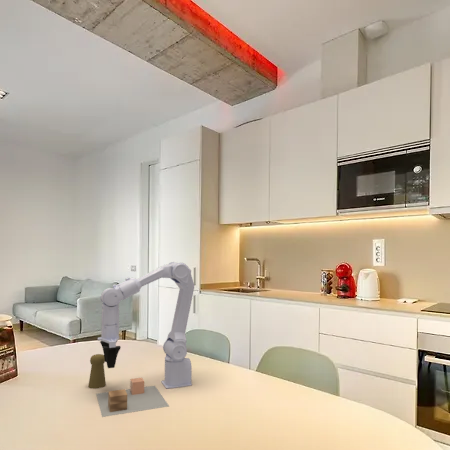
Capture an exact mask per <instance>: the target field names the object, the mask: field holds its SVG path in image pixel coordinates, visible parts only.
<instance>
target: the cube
mask: <svg viewBox="0 0 450 450" xmlns="http://www.w3.org/2000/svg"><path fill="white" fill-rule="evenodd" d="M129 382H130V383H129V386H130V387H129V389H130V392H131V393H132V395H135V394H142V393H144V387H145V379H143V377H136V378H130V381H129Z"/></svg>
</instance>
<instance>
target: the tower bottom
mask: <svg viewBox="0 0 450 450" xmlns="http://www.w3.org/2000/svg"><path fill="white" fill-rule="evenodd" d="M108 407H109V411H110V412H115V411H121V410H127V402H124V403H118V404H111V405H110V402H109V399H108Z"/></svg>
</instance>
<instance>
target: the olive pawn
mask: <svg viewBox="0 0 450 450" xmlns="http://www.w3.org/2000/svg"><path fill="white" fill-rule="evenodd" d="M89 362H90V365H91V367H90V374H89V380H88V388H89V389H92V390H93V389H95V390H96V389H102V388H104V387H106V386H107V384H106V375H105V374H106V373H105V372H106V371H105V365H104V364H105V363H106V362H105V358H104V354H102V353H97V354H93V355H92V356H90V360H89Z"/></svg>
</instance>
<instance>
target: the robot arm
mask: <svg viewBox="0 0 450 450" xmlns="http://www.w3.org/2000/svg"><path fill="white" fill-rule="evenodd" d="M162 278H163V279H164V278H165V279H170V280H172V281H173V282H174V283H175V284H176V286H177V287H178V288H179V289H178V295H177V301H176V305H175V309H174V310H175V311H174V316H173V320H172V325H171V330H170V332H169V333H168V334H167V338H166V340H165V342H164V343H163V346H162V349H163V352H164V354H165V357H164V380H161V384H162V385H163V386H164V387H165V389H167V390H170V389H176V388H183V387H184V388H185V387H189V386H193V384H192V377H193V376H192V372H193V371H192V369H193V368H192V362H191V359H190V358H189V357H186V356H187V355H188V349H187V337H186V330H187V325H188V321H189V315H190V311H191V305H192V299H193V295H194V289H195V282H194V279H193V276H192V270H191V269H190V268H189V266H188V265H187V264H186V263H184V262H175V261H171V262H169V263H167V264H163V265H161V266H160V267H159V266H158V267H156V269H153V270H151V271H149V272H148V273H146V274H144V275H141V276H140V277H138V278H136V277H129V276H128V277H127V278H125V279H124V281H122V282H119V283H118V284H116V283H115V284H112V287H108V288H105V289H104V290H103V291H102V292H101V295H100V296H99V298H100V301H101V302H102V304H101V309H102V310H101V327H100V328H101V335H100V337H97V341H99V343H100V345H101V348H102V351H103V355H104V358H105V363H106V367H107V369H114V368H115V367H116V364H117V363H116V362H117V357H118V354H119V352H120V350H121V345H117V342H118V341H119V340H120V303H121V301H124V300H127V299H128V298H130V297H132V296H134V295H136V294H138V293H140V291H141V288H142V287H144V286H147V285H149V284H151V283H154V282H155V281H157V280H160V279H162Z"/></svg>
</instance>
